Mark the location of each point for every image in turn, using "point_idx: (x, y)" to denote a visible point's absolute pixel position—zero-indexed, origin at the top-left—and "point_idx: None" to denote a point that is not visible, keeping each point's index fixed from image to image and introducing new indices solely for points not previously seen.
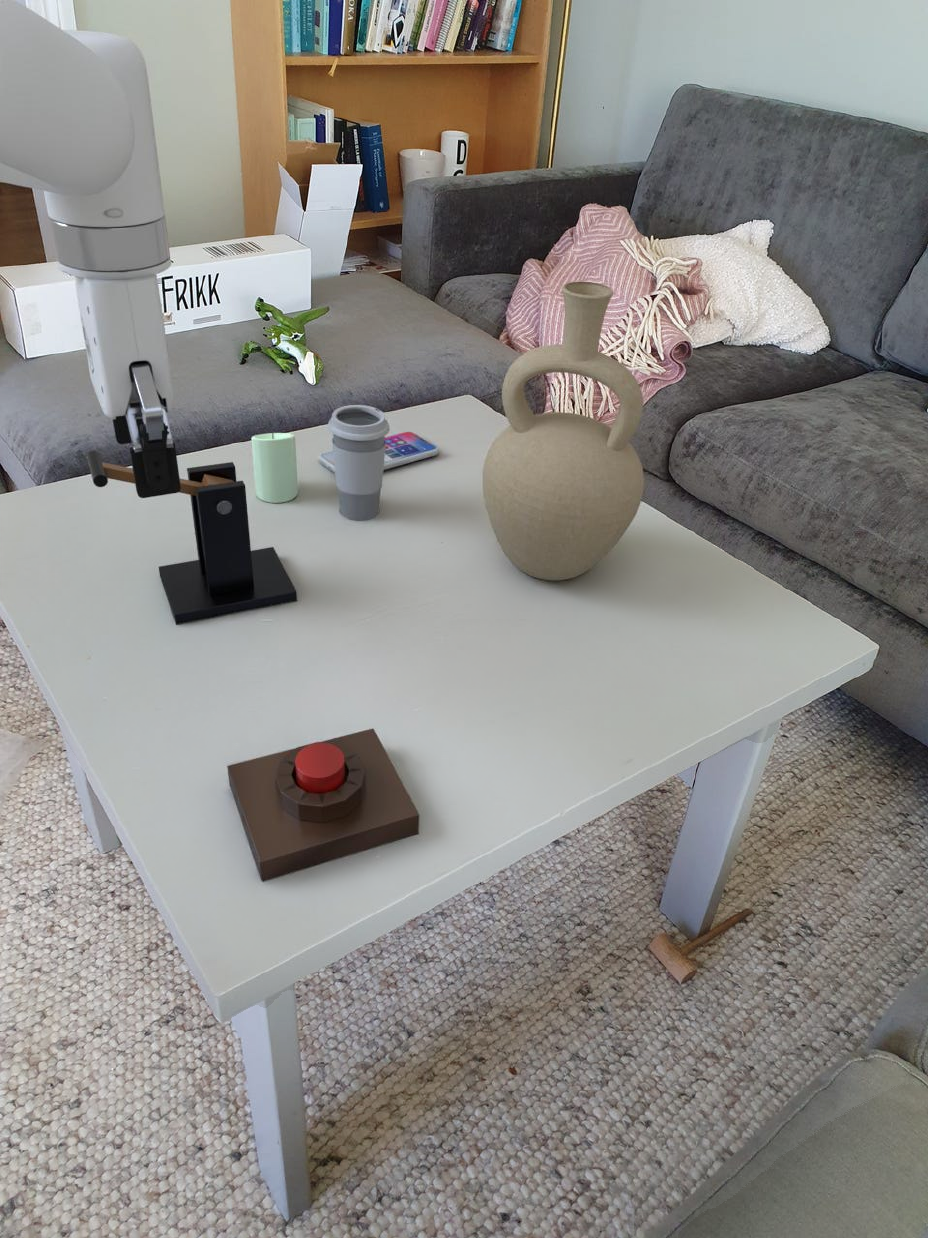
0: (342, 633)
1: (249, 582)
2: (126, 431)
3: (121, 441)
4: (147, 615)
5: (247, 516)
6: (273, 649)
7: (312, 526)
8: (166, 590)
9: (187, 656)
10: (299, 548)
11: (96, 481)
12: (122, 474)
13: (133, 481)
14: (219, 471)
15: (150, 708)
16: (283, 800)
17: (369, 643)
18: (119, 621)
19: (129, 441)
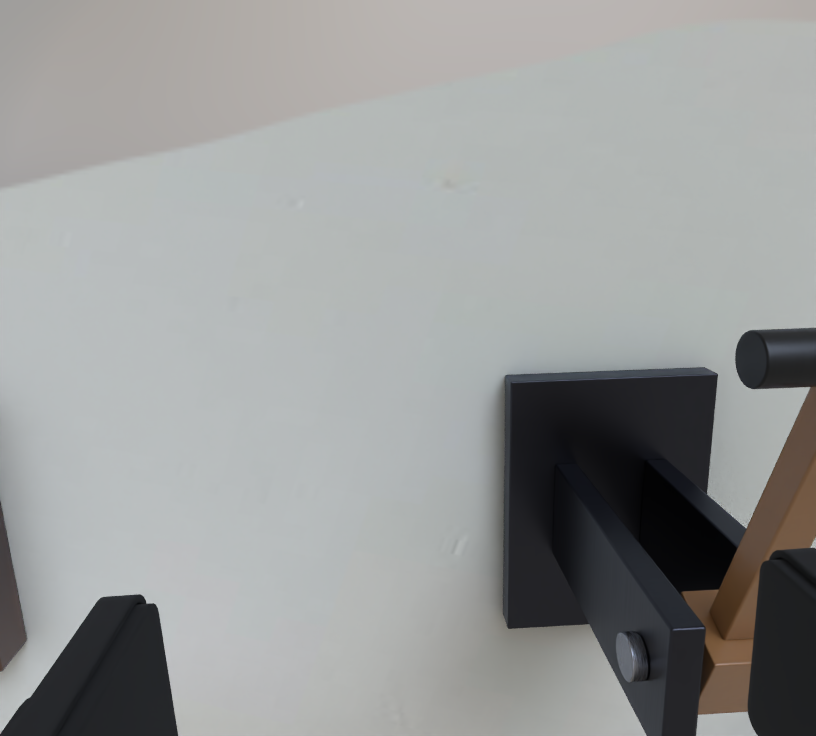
0: (368, 666)
1: (556, 553)
2: (802, 639)
3: (766, 573)
4: (563, 321)
5: (618, 679)
6: (358, 540)
7: None
8: (612, 378)
9: (388, 380)
10: None
11: (752, 343)
12: (809, 437)
13: (783, 457)
14: None
15: (239, 287)
16: None
17: (321, 702)
18: (562, 260)
19: (759, 607)
